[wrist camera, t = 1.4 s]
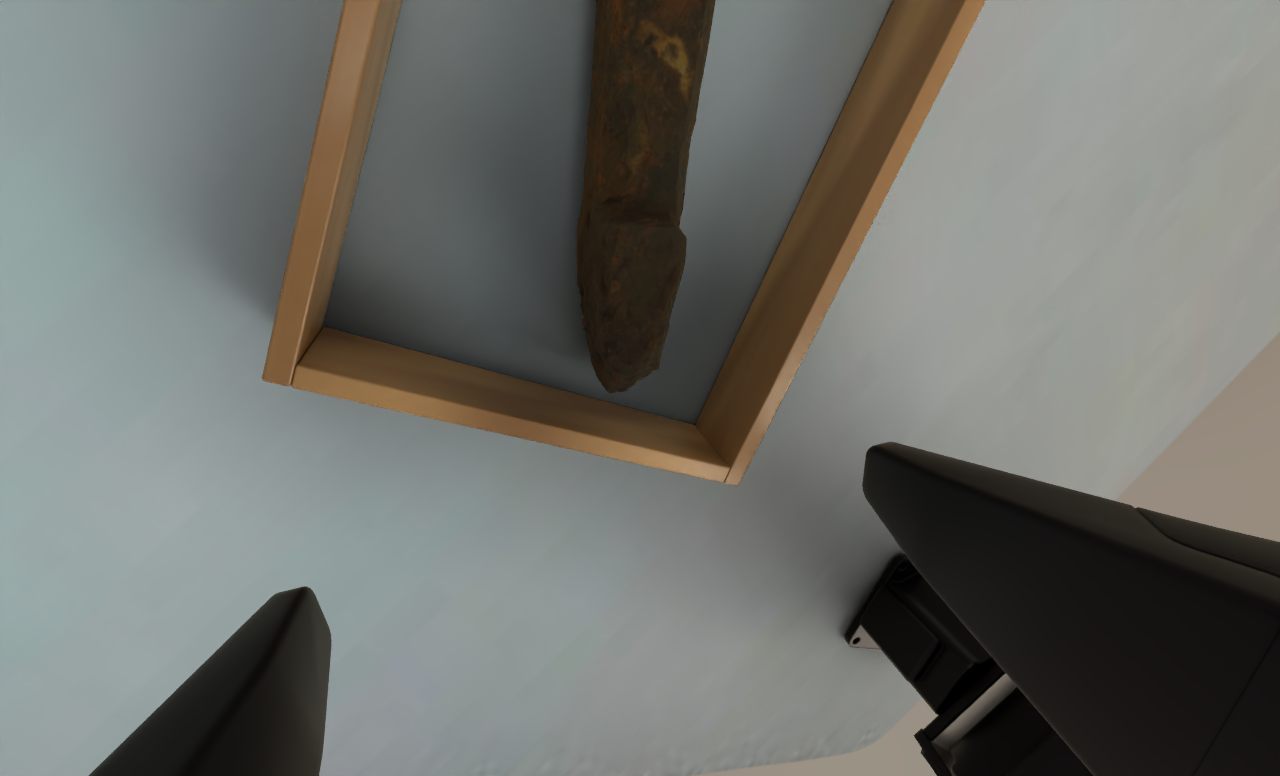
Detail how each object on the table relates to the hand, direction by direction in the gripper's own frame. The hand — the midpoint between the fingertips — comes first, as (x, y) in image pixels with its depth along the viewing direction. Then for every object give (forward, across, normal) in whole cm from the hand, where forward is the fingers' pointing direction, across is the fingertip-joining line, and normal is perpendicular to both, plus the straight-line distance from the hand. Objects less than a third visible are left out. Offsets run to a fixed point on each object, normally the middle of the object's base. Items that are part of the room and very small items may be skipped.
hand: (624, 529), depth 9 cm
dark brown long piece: (+13, -5, -7) cm, 15 cm away
